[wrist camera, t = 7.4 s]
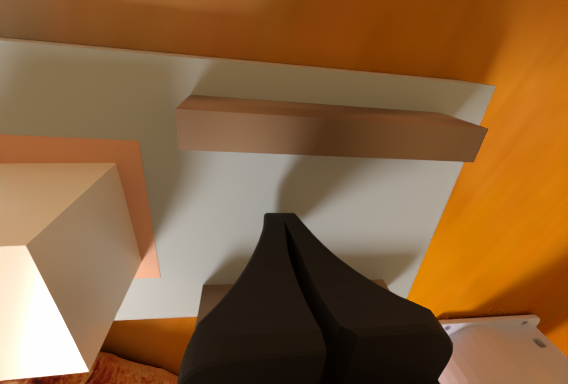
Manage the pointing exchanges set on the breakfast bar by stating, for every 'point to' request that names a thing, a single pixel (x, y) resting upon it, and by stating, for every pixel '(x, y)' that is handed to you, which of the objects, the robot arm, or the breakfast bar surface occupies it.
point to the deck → (227, 161)
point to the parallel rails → (318, 138)
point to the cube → (61, 264)
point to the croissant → (107, 374)
